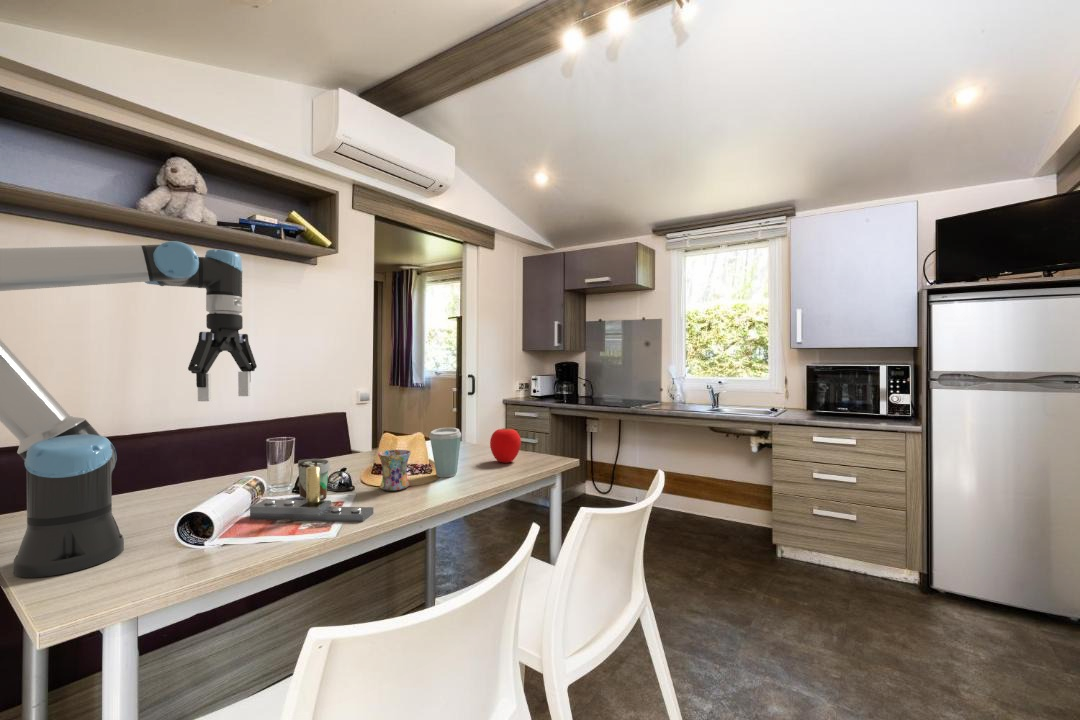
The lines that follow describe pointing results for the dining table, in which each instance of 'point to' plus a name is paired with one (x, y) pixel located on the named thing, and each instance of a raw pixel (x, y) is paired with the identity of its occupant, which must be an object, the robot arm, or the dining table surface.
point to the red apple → (505, 444)
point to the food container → (324, 470)
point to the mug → (394, 469)
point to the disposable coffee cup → (445, 450)
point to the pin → (313, 486)
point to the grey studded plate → (307, 511)
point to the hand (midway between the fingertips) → (225, 398)
